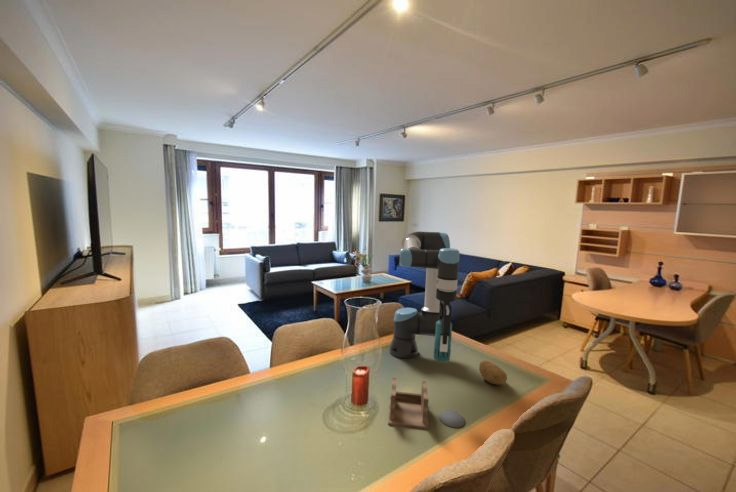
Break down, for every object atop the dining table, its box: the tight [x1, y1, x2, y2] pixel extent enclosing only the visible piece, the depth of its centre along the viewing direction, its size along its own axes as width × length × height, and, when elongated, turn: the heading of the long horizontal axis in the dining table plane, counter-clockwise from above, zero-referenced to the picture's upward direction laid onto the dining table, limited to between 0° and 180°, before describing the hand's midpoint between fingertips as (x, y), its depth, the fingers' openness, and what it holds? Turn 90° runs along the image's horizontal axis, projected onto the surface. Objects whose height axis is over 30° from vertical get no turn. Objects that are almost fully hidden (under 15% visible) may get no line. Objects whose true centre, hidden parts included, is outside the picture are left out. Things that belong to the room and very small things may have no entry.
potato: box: [478, 359, 508, 386], centre depth 144 cm, size 10×14×8 cm
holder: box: [387, 377, 429, 430], centre depth 119 cm, size 16×14×10 cm
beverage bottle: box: [432, 312, 453, 363], centre depth 124 cm, size 6×7×20 cm
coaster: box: [438, 409, 466, 429], centre depth 117 cm, size 9×9×1 cm
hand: (442, 347), depth 124 cm, fingers closed on beverage bottle, 6 cm apart
